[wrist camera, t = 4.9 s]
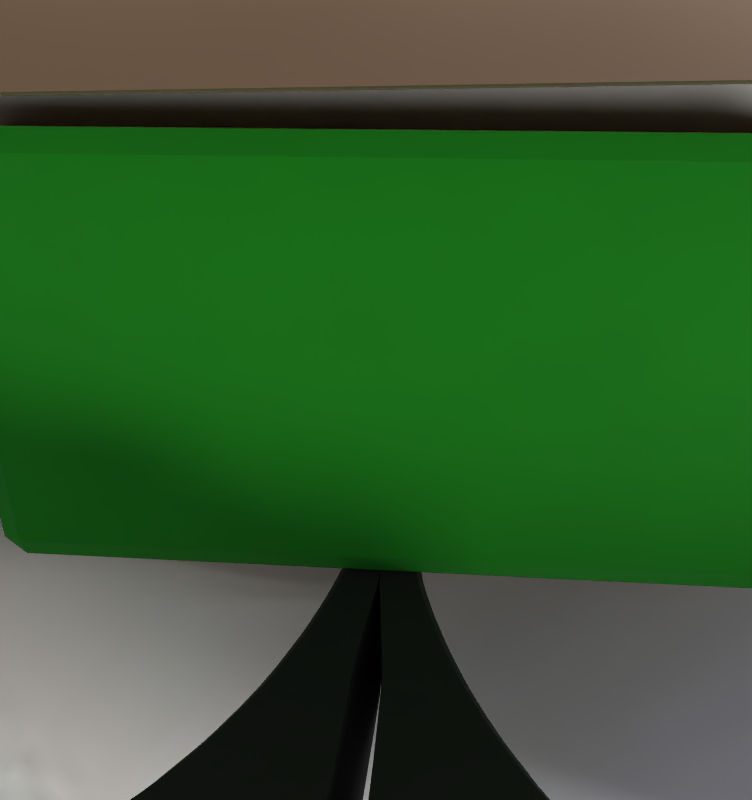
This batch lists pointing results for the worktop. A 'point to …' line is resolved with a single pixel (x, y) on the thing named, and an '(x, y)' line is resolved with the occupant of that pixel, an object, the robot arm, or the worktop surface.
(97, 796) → the worktop surface
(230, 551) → the dish sponge
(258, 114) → the worktop surface
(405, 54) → the low shelf
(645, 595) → the worktop surface
